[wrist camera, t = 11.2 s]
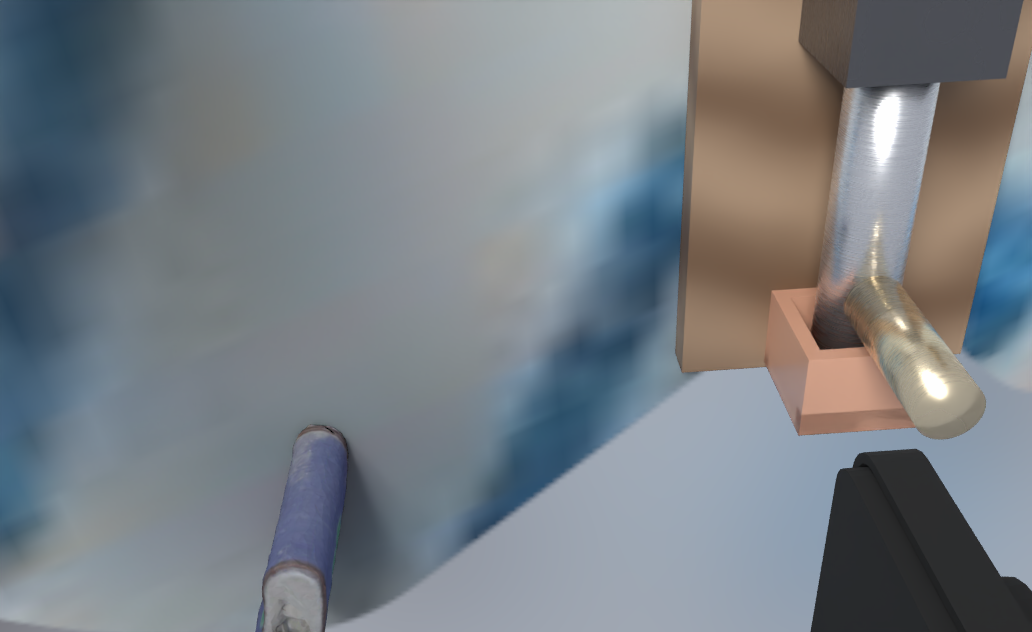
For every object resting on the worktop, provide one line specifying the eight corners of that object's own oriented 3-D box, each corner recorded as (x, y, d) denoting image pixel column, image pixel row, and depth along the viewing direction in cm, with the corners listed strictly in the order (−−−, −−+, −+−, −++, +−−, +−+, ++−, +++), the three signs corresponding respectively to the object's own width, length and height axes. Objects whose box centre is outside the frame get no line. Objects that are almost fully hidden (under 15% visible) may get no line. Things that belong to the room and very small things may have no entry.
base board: (704, -251, 31) (714, -248, 30) (1079, -272, 31) (1106, -270, 30) (675, 352, 43) (682, 372, 42) (945, 334, 43) (960, 353, 42)
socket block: (771, 290, 40) (808, 360, 36) (893, 282, 40) (944, 351, 36) (764, 361, 42) (798, 435, 38) (880, 353, 42) (927, 426, 38)
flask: (298, 417, 44) (257, 603, 35) (363, 429, 45) (340, 615, 36) (268, 561, 49) (226, 758, 40) (327, 570, 49) (299, 766, 40)
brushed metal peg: (843, -15, 33) (970, 78, 25) (932, -20, 33) (1088, 71, 25) (796, 351, 40) (881, 513, 32) (869, 347, 41) (971, 507, 32)
